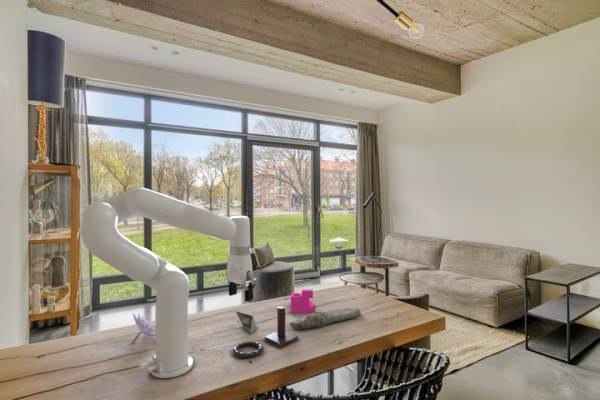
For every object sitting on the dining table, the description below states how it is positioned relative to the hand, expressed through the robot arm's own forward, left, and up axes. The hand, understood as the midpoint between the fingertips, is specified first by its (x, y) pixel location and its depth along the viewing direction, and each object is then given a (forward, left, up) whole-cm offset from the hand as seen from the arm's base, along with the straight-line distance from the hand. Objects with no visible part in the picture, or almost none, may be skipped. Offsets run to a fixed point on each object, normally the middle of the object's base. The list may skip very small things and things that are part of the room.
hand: (240, 297), depth 115 cm
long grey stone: (+40, -8, -18) cm, 44 cm away
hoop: (0, -5, -17) cm, 18 cm away
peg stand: (+14, -7, -18) cm, 23 cm away
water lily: (-21, +30, -18) cm, 41 cm away
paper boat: (+11, +12, -18) cm, 24 cm away
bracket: (+44, +11, -18) cm, 48 cm away
